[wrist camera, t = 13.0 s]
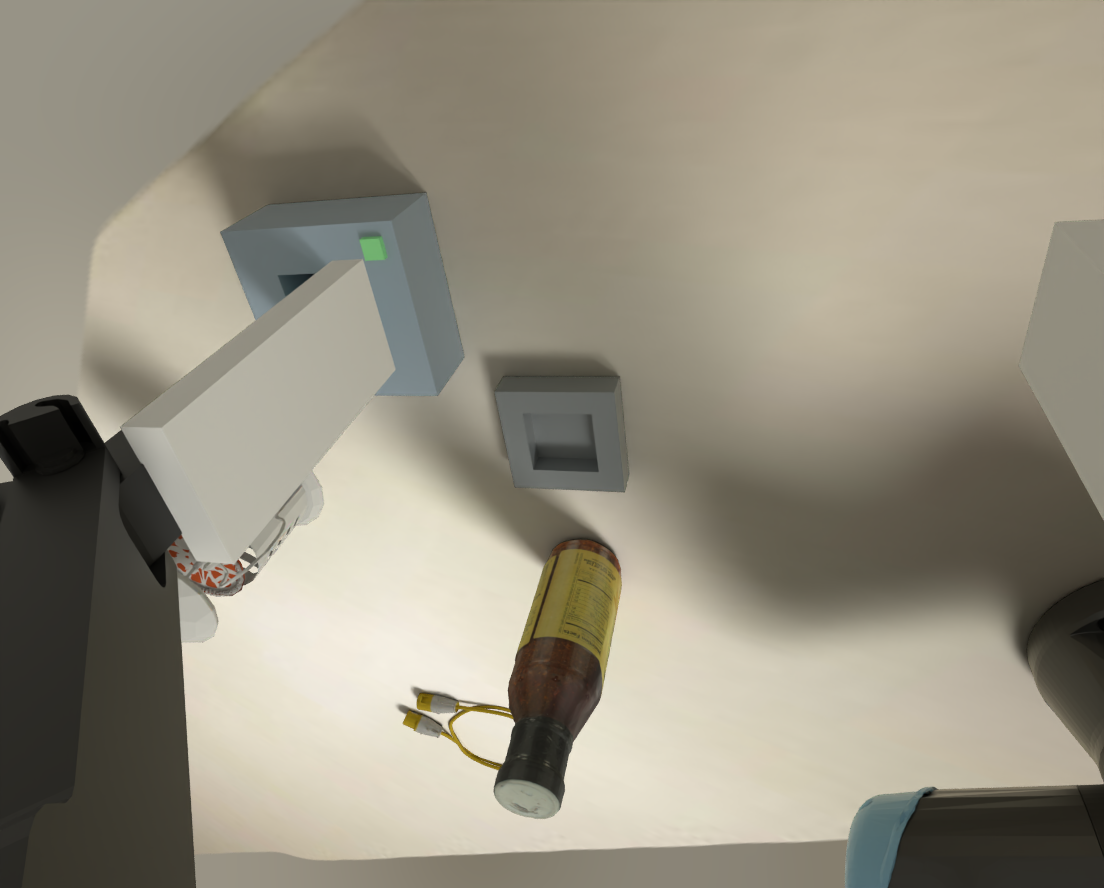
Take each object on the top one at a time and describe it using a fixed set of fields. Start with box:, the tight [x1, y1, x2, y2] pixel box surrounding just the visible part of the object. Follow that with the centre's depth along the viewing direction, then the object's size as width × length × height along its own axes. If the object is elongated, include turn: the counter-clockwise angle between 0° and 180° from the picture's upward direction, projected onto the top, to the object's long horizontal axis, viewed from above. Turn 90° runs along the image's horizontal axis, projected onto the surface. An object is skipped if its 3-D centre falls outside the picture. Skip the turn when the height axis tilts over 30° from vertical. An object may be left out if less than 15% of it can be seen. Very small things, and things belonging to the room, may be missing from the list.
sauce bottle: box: [494, 539, 622, 819], centre depth 50 cm, size 6×6×20 cm
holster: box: [495, 377, 629, 492], centre depth 49 cm, size 8×8×2 cm
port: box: [220, 193, 464, 396], centre depth 45 cm, size 11×11×5 cm
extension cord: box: [403, 693, 513, 770], centre depth 75 cm, size 12×16×2 cm
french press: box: [167, 471, 324, 643], centre depth 51 cm, size 10×12×25 cm
